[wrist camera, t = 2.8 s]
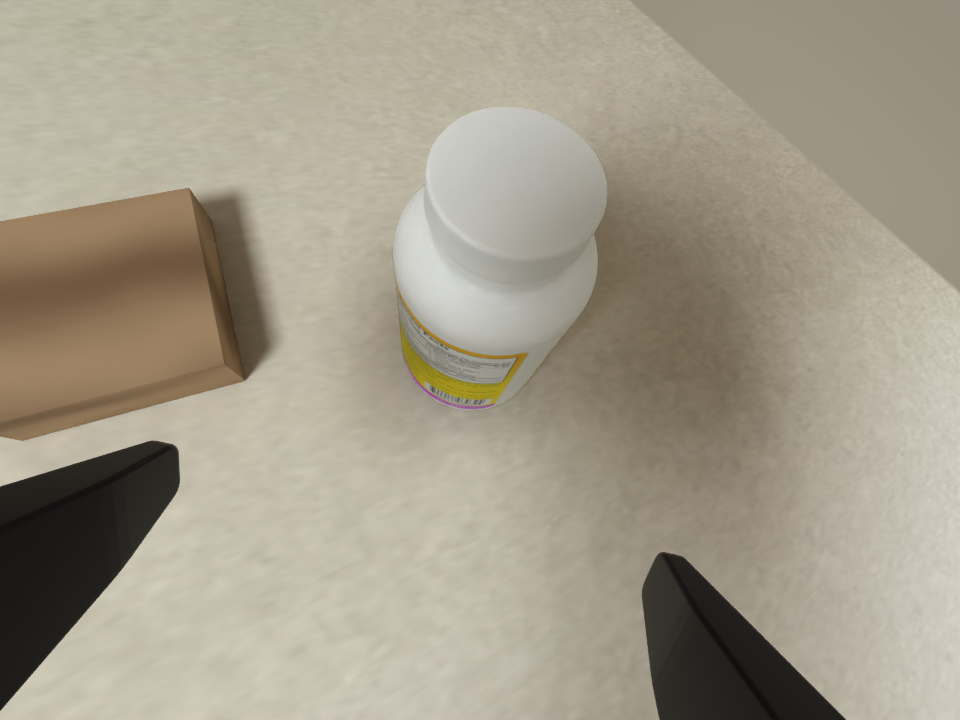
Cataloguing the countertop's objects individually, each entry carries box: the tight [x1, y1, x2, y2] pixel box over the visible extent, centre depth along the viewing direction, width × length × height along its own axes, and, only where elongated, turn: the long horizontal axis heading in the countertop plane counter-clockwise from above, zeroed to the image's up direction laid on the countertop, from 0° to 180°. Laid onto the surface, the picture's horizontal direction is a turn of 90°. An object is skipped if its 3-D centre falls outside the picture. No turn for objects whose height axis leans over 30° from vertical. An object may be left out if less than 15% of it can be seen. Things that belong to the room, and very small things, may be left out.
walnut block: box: [0, 188, 245, 441], centre depth 21 cm, size 9×9×2 cm
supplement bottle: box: [393, 106, 607, 411], centre depth 18 cm, size 7×7×13 cm
